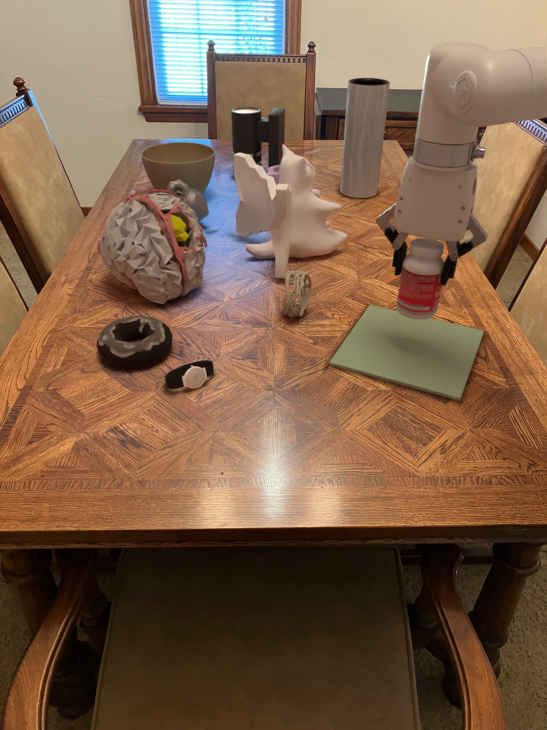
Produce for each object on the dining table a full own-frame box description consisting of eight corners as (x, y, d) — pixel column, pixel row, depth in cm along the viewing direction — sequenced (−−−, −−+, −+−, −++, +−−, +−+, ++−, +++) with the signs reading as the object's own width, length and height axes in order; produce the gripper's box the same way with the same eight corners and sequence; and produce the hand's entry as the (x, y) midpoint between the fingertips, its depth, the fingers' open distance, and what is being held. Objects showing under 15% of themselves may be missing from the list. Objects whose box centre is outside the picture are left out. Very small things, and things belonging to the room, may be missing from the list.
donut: (176, 367, 88) (174, 346, 86) (97, 377, 86) (92, 355, 84) (171, 328, 97) (169, 307, 95) (100, 336, 95) (95, 315, 93)
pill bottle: (438, 322, 86) (452, 253, 79) (397, 320, 86) (407, 251, 80) (433, 302, 91) (446, 236, 84) (394, 300, 91) (403, 234, 85)
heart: (216, 233, 130) (211, 177, 124) (175, 238, 127) (168, 182, 122) (206, 224, 138) (200, 173, 133) (167, 229, 136) (160, 176, 130)
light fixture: (237, 171, 168) (235, 105, 158) (284, 173, 166) (285, 107, 156) (229, 181, 160) (227, 113, 150) (278, 184, 158) (278, 115, 148)
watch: (174, 399, 82) (172, 379, 80) (159, 383, 85) (156, 363, 83) (220, 380, 85) (219, 360, 83) (204, 365, 89) (203, 345, 86)
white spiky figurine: (365, 268, 116) (377, 161, 104) (268, 287, 109) (268, 175, 97) (312, 225, 135) (316, 130, 122) (226, 238, 128) (221, 140, 116)
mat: (483, 333, 96) (484, 330, 96) (459, 401, 82) (460, 398, 81) (369, 307, 103) (369, 304, 103) (328, 365, 89) (329, 362, 88)
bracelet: (279, 323, 99) (279, 282, 94) (289, 301, 105) (290, 261, 100) (302, 326, 98) (303, 285, 93) (311, 304, 104) (313, 264, 99)
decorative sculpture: (128, 336, 109) (156, 292, 92) (70, 244, 109) (87, 184, 92) (205, 298, 119) (243, 252, 102) (151, 214, 119) (180, 155, 102)
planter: (337, 197, 150) (345, 84, 135) (342, 184, 158) (350, 76, 143) (376, 200, 149) (388, 86, 133) (378, 187, 157) (391, 78, 141)
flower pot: (133, 206, 144) (126, 157, 137) (170, 184, 158) (165, 139, 151) (196, 216, 139) (192, 166, 132) (229, 193, 152) (227, 146, 145)
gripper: (516, 153, 74) (485, 278, 85) (387, 137, 80) (373, 256, 91) (508, 169, 69) (477, 300, 79) (370, 151, 75) (358, 275, 85)
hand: (421, 275), depth 85 cm, fingers closed on pill bottle, 6 cm apart
